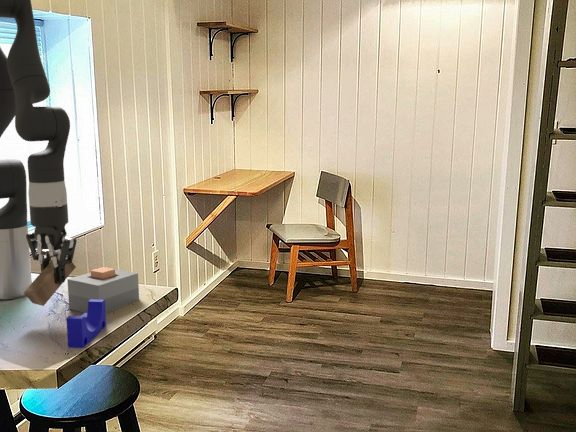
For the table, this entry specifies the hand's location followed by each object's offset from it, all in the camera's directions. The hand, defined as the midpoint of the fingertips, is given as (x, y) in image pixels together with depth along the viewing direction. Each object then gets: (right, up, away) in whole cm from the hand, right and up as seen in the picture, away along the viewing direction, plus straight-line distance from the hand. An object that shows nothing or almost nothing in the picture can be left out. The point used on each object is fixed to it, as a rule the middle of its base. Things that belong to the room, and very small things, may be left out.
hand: (53, 281), depth 138 cm
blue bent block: (+9, -11, -9) cm, 17 cm away
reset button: (+8, -2, +10) cm, 13 cm away
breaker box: (+8, -7, +11) cm, 15 cm away
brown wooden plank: (-3, -3, -4) cm, 6 cm away
